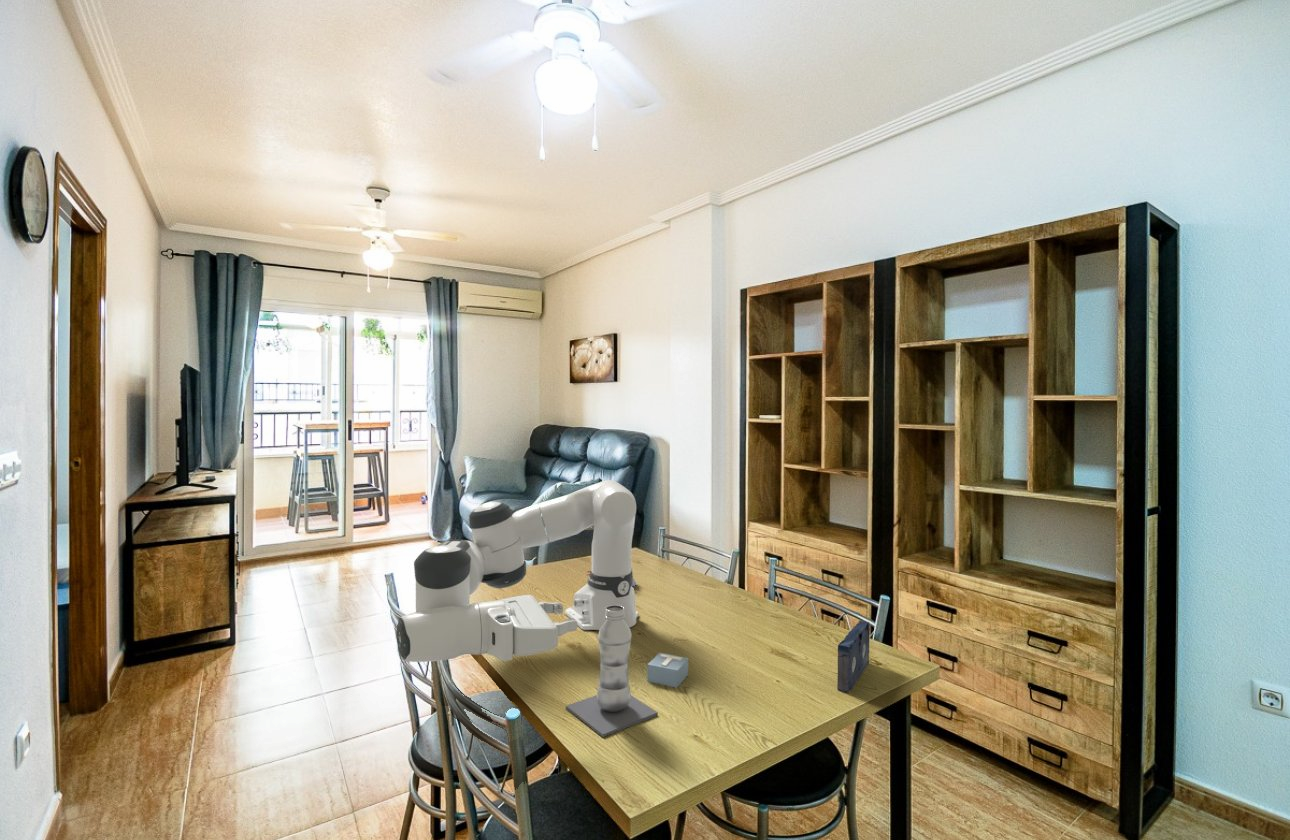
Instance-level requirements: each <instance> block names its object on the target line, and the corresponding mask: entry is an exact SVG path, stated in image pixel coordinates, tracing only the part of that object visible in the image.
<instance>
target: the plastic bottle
mask: <svg viewBox="0 0 1290 840" xmlns="http://www.w3.org/2000/svg"><path fill="white" fill-rule="evenodd" d="M605 618H606V621H605V622H604V624H603V625H602V627H601V628H600V630H598V635H597V639H598V648H599V657H600V658H599V659H600V672H599V678H598V679H599V681H598V686H597V691H596V695H597V702H598V705H599V706H600V708H601V709H602V710H604V711H608V712H618V711H622V710H624V709H625V708H626V707H627V706H628V704H629V701H630V696H631V695H632V694H631V687H630V683H629V680H630V679H629V655H630V654H629V653H630V647H631V643H632V631H631V627H630V628H629V627H628V625H627V624H626V623H625V621H624V620H623V619H624V618H625V614H624V607H622V606H619V605H611V606H607V607H606V609H605Z"/></svg>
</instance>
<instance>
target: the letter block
mask: <svg viewBox="0 0 1290 840" xmlns="http://www.w3.org/2000/svg"><path fill="white" fill-rule="evenodd" d="M646 669H647V673H646V675H647V677H646V679H647V681H646V682H648V683H654V684H658V685H663V686H666V685H667V686H666V687H672V688H679V686H680V685H681V684H682V683H683V681H684V680H685V679H686V678H687V677H686V676H688V675H689V658H688V657H684V656H679V655H674V654H671V653H670V654H669V653H664V652H659V653H657V654H656V655H655V657H653V659H651V660H650V661H649V662H648V663H647V668H646ZM681 682H682V683H681Z"/></svg>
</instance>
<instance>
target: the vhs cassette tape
mask: <svg viewBox="0 0 1290 840" xmlns="http://www.w3.org/2000/svg"><path fill="white" fill-rule="evenodd" d="M870 630H871V626H870V622H869V621H864V620H859V621H858V622H857V623H856V624H855V625H854V626H853V628H851V630H849V631H848V633H847V635H846V636H845V637H844V639H843V640H841V642H839V643H838V644H837V678H836V679H837V685H836V686H837V687H836V688H837V691H841V692H843V693H844V692H845V693H847V692H848V694H849V693H850V692H851V690H852V689H853V688H854V686H855V685H856V683H857V682H858V680H859V679H860V677H861V676H860V675H862V674H863V673H864V671H865V670H866V668H867V667H868V665H869V664H870V655H869V654H870V638H871V637H870V634H871V633H870V632H871V631H870ZM858 678H859V679H858ZM856 681H857V682H856ZM849 691H850V692H849Z"/></svg>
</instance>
